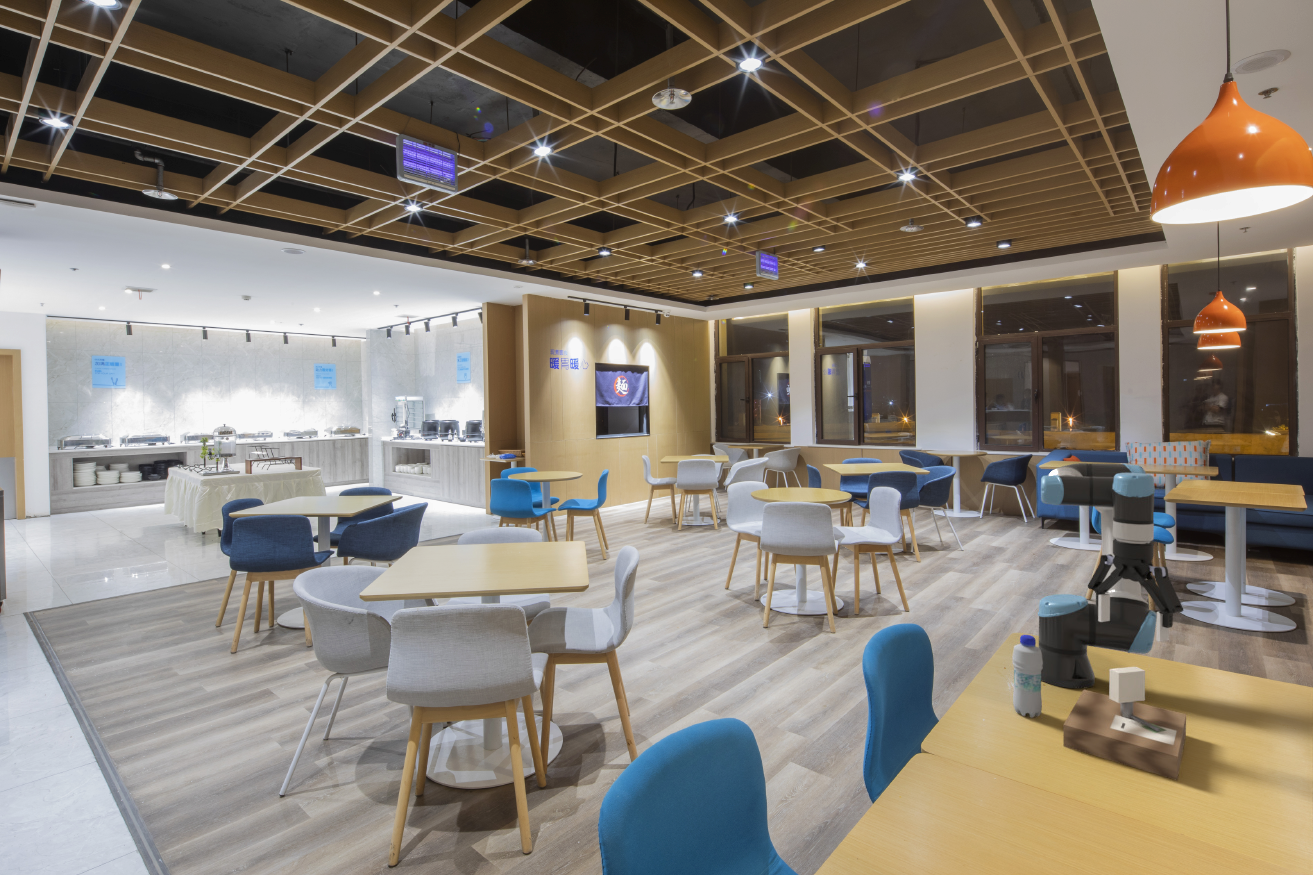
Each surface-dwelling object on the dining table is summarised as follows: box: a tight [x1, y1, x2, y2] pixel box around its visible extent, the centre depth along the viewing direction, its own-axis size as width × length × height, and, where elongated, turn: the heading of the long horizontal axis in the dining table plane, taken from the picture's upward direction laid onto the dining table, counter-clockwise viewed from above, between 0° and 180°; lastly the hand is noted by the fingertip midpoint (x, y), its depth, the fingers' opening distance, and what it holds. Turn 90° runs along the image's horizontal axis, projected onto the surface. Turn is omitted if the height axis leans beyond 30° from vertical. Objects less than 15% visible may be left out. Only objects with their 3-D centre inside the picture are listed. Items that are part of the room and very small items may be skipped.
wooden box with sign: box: [1062, 689, 1187, 781], centre depth 144 cm, size 20×24×5 cm
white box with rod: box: [1108, 666, 1160, 731], centre depth 142 cm, size 7×9×11 cm
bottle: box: [1011, 634, 1043, 718], centre depth 157 cm, size 7×7×20 cm
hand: (1132, 630), depth 145 cm, fingers open, 13 cm apart
